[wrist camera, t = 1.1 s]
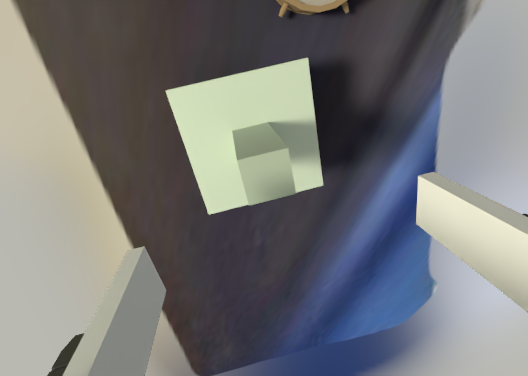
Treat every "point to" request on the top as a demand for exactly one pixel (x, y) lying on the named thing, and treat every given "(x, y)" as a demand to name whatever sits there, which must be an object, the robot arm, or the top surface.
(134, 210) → the top surface
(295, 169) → the lid
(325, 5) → the alarm clock
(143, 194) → the top surface
